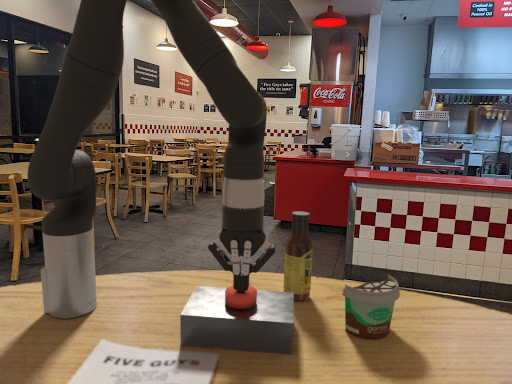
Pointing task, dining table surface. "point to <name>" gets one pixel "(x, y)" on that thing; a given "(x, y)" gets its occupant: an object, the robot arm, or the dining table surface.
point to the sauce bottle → (298, 258)
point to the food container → (370, 308)
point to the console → (238, 322)
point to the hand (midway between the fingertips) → (241, 291)
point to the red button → (240, 298)
